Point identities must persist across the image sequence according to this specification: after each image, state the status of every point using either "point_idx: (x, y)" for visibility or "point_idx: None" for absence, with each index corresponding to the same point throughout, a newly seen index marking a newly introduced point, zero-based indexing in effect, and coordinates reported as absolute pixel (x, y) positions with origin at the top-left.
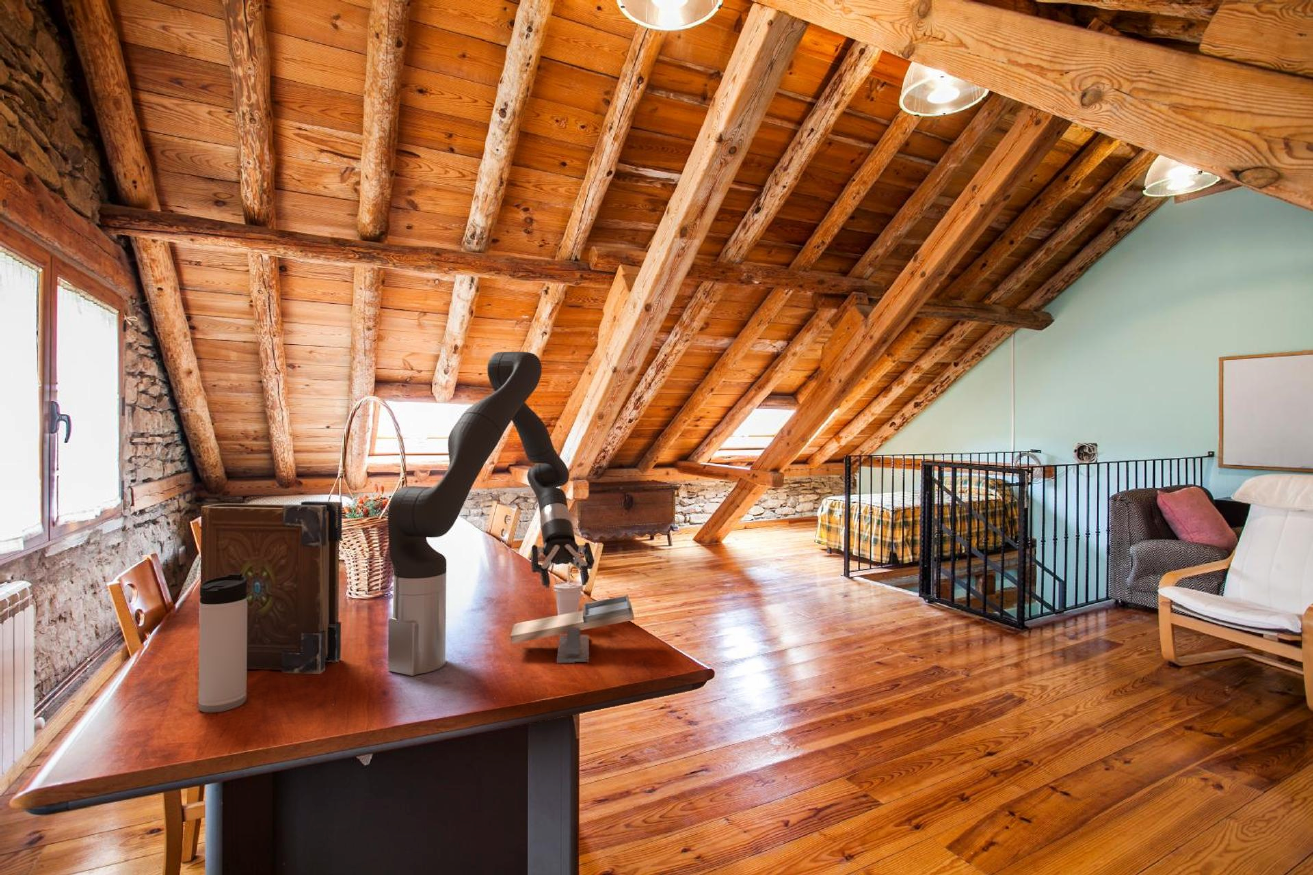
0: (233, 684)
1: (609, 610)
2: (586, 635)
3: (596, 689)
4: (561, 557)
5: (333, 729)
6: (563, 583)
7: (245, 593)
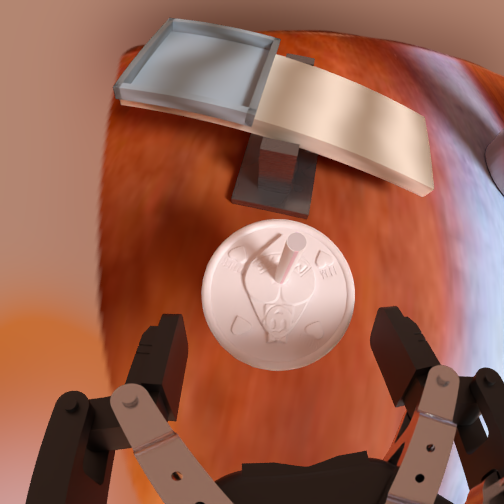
0: None
1: (199, 60)
2: (237, 195)
3: (276, 32)
4: (325, 474)
5: (492, 77)
6: (298, 339)
7: None
